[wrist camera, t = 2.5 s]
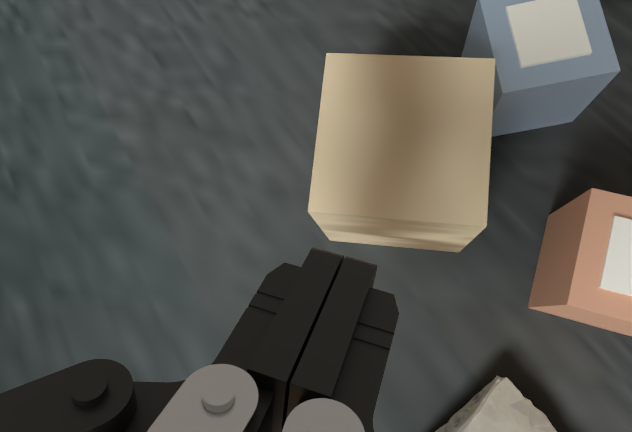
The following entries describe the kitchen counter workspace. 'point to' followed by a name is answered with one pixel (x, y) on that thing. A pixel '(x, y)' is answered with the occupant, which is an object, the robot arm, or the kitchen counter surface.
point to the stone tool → (498, 412)
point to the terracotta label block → (588, 262)
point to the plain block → (403, 150)
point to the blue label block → (542, 59)
